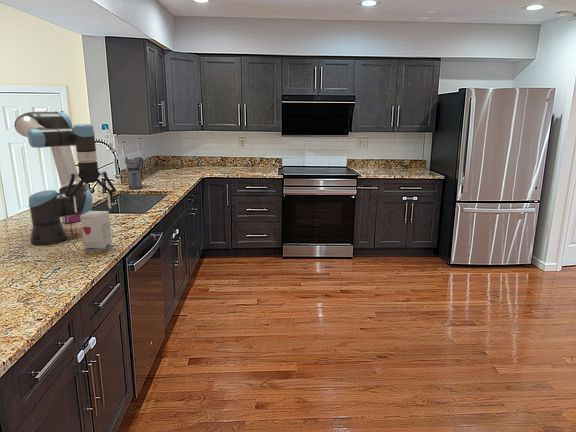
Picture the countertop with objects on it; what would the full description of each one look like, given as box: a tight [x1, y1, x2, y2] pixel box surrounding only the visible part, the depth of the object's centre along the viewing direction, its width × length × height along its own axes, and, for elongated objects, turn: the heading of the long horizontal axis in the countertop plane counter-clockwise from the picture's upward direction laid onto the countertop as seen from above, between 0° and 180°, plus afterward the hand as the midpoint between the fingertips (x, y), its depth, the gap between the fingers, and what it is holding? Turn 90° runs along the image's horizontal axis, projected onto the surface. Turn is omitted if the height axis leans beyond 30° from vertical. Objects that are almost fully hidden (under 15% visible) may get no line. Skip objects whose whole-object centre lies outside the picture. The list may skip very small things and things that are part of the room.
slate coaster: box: [84, 243, 113, 254], centre depth 185 cm, size 10×10×2 cm
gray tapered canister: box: [124, 156, 144, 191], centre depth 320 cm, size 10×13×25 cm
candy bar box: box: [61, 213, 85, 225], centre depth 228 cm, size 11×5×16 cm, turn 141°
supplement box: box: [80, 210, 113, 249], centre depth 183 cm, size 9×9×15 cm
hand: (93, 209), depth 181 cm, fingers open, 13 cm apart
